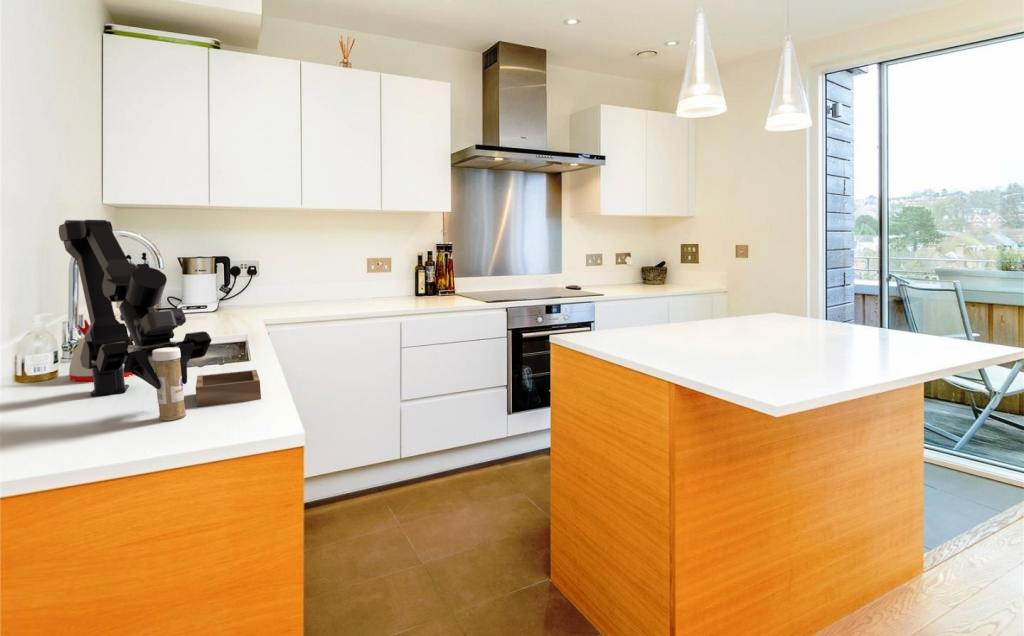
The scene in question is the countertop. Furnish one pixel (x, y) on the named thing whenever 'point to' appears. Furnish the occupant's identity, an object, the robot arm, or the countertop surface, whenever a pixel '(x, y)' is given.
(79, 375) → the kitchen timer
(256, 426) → the countertop surface
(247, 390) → the walnut crate
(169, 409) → the sprinkles bottle
